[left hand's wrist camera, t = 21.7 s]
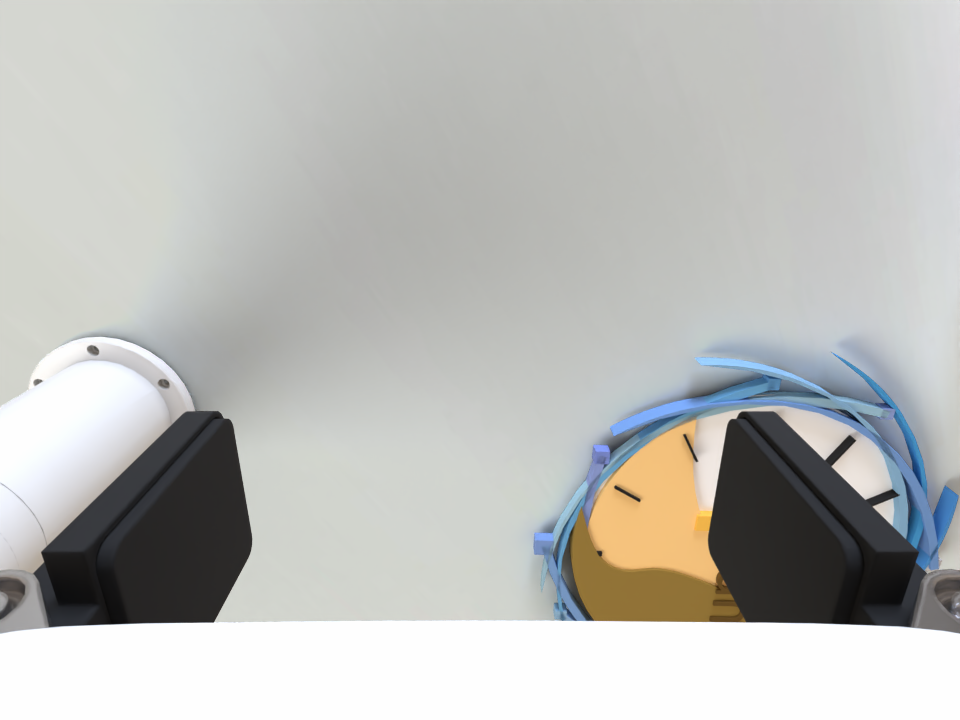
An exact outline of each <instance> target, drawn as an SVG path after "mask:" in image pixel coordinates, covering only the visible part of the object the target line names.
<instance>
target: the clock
mask: <svg viewBox="0 0 960 720" xmlns="http://www.w3.org/2000/svg"><path fill="white" fill-rule="evenodd" d="M831 353H832V352H831ZM833 354H834V353H833ZM834 355H835V356H836V357H838V358H839V359H840V360H841V361H843V362H844V363H845V364H846V365H848V366H849V367H850V368H851V369H853V370H854V371H855V372H856V373H858V374H859V375H860V376H861V377H863V378H864V380H865V381H866V382H867V383H868V384H869V385H870V386H871V387H872V389H873V390H874V391H875V392H876V393H877V394H878V395H879V397H880V398H881V399H882V400H883V401H884V402H885V403H875V404H874V403H870V402H866V401H862V400H858V399H853V398H849V397H842V396H835V395H832V394H830V393H829V392H827V391H826V390H824V389H823V388H821V387H819V386H818V385H815V384H813V383H811V382H809V381H807V380H805V379H802V378H800V377H798V376H796V375H794V374H792V373H789V372H786V371H783V370H781V369H777V368H774V367H771V366H767V365H763V364H759V363H754V362H749V361H743V360H736V359H727V358H706V357H701V358H695V359H696V360H697V361H698V362H699V363H700V364H701V365H705V366H713V367H722V368H730V369H739V370H747V371H753V372H757V373H761V374H763V377H762V378H758V379H755V380H752V381H748V382H745V383H742V384H739V385H735V386H732V387H729V388H726V389H724V390H721V391H719V392H716V393H714V394H711V395H709V396H701V397H695V398H690V399H685V400H680V401H676V402H672V403H668V404H665V405H661V406H658V407H655V408H652V409H649V410H646V411H644V412H641V413H638V414H636V415H634V416H631V417H629V418H627V419H625V420H622V421H620V422H618V423H616V424H614V425H612V426H610V428H611V431H612V433H613V435H614V436H615V435H618V434H621V433H624V432H626V431H629V430H632V429H634V428H637V427H640V426H643V425H645V424H648V423H651V422H654V421H656V420H658V421H656V422H655V423H653V424H651V425H650V426H648V427H647V428H645V429H644V430H642V431H640V432H639V433H637V434H636V435H635V436H633V437H632V438H631V439H629V440H628V441H627V442H625V443H624V444H623V445H621V446H620V447H619V448H617V449H616V450H614V451H613V452H612V453H611V454H610V450H609V447H608V445H593V454H592V459H593V461H592V464H591V467H590V469H589V472H588V475H587V478H586V480H585V481H584V483H583V484H582V485H581V486H580V487H579V489H578V490H577V491H576V493H575V494H574V496H573V497H572V499H571V500H570V502H569V503H568V505H567V506H566V508H565V510H564V511H563V513H562V514H561V516H560V518H559V520H558V522H557V524H556V526H555V528H554V530H553V533H535V534H534V554H535V555H544V556H545V557H544V561H543V566H542V573H541V592H542V590H543V586H544V581H545V577H546V573H547V569H549V572H550V574H551V576H552V579H553V581H554V583H555V585H556V587H557V597H558V603H554V617H555V619H561V620H562V621H592V620H591V619H590V618H589V617H588V616H587V615H586V614H585V612H584V611H583V609H582V608H581V607H580V605H579V604H578V602H577V601H576V599H575V598H574V597H573V595H572V594H571V592H570V590H569V588H568V586H567V584H566V582H565V580H564V578H563V576H562V574H561V566H562V557H563V554H564V551H565V548H566V544H567V541H568V538H569V535H570V557H571V563H572V569H573V574H574V579H575V583H576V586H577V589H578V592H579V595H580V597H581V599H582V601H583V603H584V605H585V607H586V609H587V611H588V613H589V614H590V615H591V617H592V618H593V620H594V621H625V622H736V623H746V621H745V619H744V617H743V616H742V614H741V612H740V610H739V608H738V606H737V604H736V602H735V601H734V599H733V597H732V595H731V593H730V591H729V589H728V587H727V586H726V584H725V582H724V580H723V578H722V576H721V574H720V572H719V571H718V569H717V567H716V565H715V563H714V561H713V559H712V557H711V555H710V552H709V547H708V533H709V528H710V522H711V516H712V510H713V504H714V498H715V492H716V487H717V481H718V475H719V469H720V463H721V457H722V452H723V446H724V440H725V434H726V428H727V424H728V422H729V420H731V419H736V418H737V416H738V414H739V413H740V412H742V411H774V412H775V413H777V414H778V415H779V416H780V417H781V418H782V419H783V420H784V421H785V422H786V423H787V424H788V425H789V426H790V427H791V428H792V429H793V430H794V431H795V432H796V433H797V434H798V435H799V436H800V437H802V438H803V439H804V440H805V441H806V442H807V443H808V444H809V445H810V446H811V447H812V448H813V449H814V450H815V451H816V452H817V453H818V454H819V455H820V456H821V457H822V458H823V459H824V460H825V461H826V462H827V463H828V464H829V465H830V466H831V467H832V468H833V469H834V470H835V471H836V472H837V473H838V474H840V475H841V476H842V477H843V478H844V479H845V480H846V481H847V482H848V483H849V484H850V485H851V486H852V487H853V488H854V489H855V490H856V491H857V492H858V493H859V494H860V495H861V496H862V497H863V498H864V499H865V500H866V501H867V502H868V503H869V504H870V505H871V506H872V507H873V508H874V509H875V510H876V511H878V512H879V513H880V514H881V515H882V516H883V517H884V518H885V519H886V520H887V521H888V522H889V523H890V524H891V525H892V526H893V527H894V528H895V529H896V530H897V531H898V532H899V533H900V534H901V535H902V536H903V537H904V538H905V539H906V540H907V541H908V542H909V543H910V544H911V545H912V546H913V547H914V548H916V549H917V550H918V551H919V554H918V557H917V560H916V563H917V564H918V565H919V566H920V567H921V568H922V569H923V570H924V571H935V570H938V569H939V567H940V564H941V562H942V560H941V559H940V558H939V557H938V549H939V547H940V545H941V543H942V541H943V539H944V537H945V535H946V533H947V530H948V528H949V525H950V523H951V520H952V517H953V515H954V511H955V508H956V504H957V501H958V495H957V494H956V493H954V492H953V491H952V490H950V489H949V488H948V487H947V486H945V487H944V489H943V492H942V494H941V497H940V499H939V502H938V504H937V507H936V509H935V512H934V515H933V516H932V513H931V510H930V507H929V504H928V501H927V482H926V476H925V470H924V464H923V460H922V457H921V454H920V451H919V448H918V445H917V442H916V440H915V437H914V435H913V433H912V431H911V430H910V428H909V426H908V424H907V422H906V420H905V419H904V417H903V415H902V413H901V412H900V410H899V409H898V407H897V406H896V405H895V403H894V402H893V401H892V400H891V398H890V397H889V396H888V395H887V394H886V393H885V392H884V390H883V389H882V388H881V387H880V386H879V385H877V384H876V383H875V382H874V381H873V380H872V379H871V378H870V377H868V376H867V375H866V374H865V373H863V372H862V371H861V370H859V369H858V368H856V367H855V366H853V365H852V364H850V363H849V362H847V361H846V360H844V359H843V358H841V357H839V356H838V355H836V354H834ZM781 379H784V380H788V381H792V382H794V383H797V384H799V385H801V386H803V387H806V388H808V389H810V390H813V391H815V392H817V393H810V392H782V391H781V392H766V393H762V392H765V391H769V390H779V388H780V384H781ZM837 409H843V410H847V411H848V412H849V413H850V414H851V415H852V416H853V417H854V418H852V417H851V416H849V415H848V414H845V413H843V412H841V411H838V410H837ZM857 412H859V413H864V414H868V415H873V416H877V417H878V418H879V419H893V417H894V418H895V420H896V421H897V423H898V425H899V427H900V428H901V430H902V432H903V434H904V437H905V440H906V443H907V447H908V450H909V453H910V456H911V459H912V467H913V471H912V470H911V469H910V467H909V466H908V465H907V463H906V462H905V461H904V460H903V458H902V457H901V456H900V455H899V453H898V452H896V451H895V450H894V449H893V448H892V447H891V446H890V445H889V444H888V443H886V442H885V441H884V440H883V439H882V438H881V436H880V435H879V434H878V433H877V431H876V430H875V429H874V428H873V427H872V425H870V424H869V423H868V422H867V421H866V420H865V419H863V418H862V417H861V416H860V415H859V414H858V413H857ZM906 494H907V495H906ZM907 497H908V499H909V501H910V505H911V515H910V519H909V522H908V503H907ZM562 529H563V530H562ZM561 532H562V533H561ZM560 534H561V537H560V542H559V547H558V551H557V559H556V561H555V558H554V555H553V551H554V548H555V546H556V543H557V541H558V539H559V536H560ZM561 597H562V599H563V601H564V602H565V603H562V600H561ZM566 605H567V607H568V609H569V610H570V611H569V610H568V609H567V608H566Z"/></svg>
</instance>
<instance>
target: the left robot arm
mask: <svg viewBox="0 0 960 720" xmlns="http://www.w3.org/2000/svg"><path fill="white" fill-rule="evenodd" d="M251 547H252V533H251V528H250V522H249V516H248V510H247V504H246V498H245V493H244V487H243V481H242V475H241V469H240V463H239V458H238V452H237V446H236V440H235V434H234V428H233V424H232V422H231V420H229V419H224V418H223V416H222V414H221V413H220V412H218V411H195V408H194V405H193V402H192V398H191V396H190V394H189V392H188V390H187V388H186V387H185V385H184V383H183V382H182V381H181V379H180V378H179V377H178V375H177V374H176V373H175V372H174V371H173V370H172V369H171V368H170V367H169V366H168V365H167V364H166V363H165V362H164V361H163V360H161V359H160V358H158V357H157V356H155V355H154V354H153V353H151V352H150V351H148V350H146V349H144V348H142V347H140V346H137V345H135V344H133V343H130V342H126V341H123V340H120V339H115V338H107V337H86V338H82V339H78V340H74V341H71V342H69V343H66V344H64V345H62V346H60V347H58V348H56V349H55V350H53V351H52V352H50V353H49V354H47V355H46V356H45V357H44V358H43V359H42V360H41V361H40V362H39V363H38V364H37V366H36V368H35V370H34V371H33V373H32V375H31V378H30V382H29V386H28V391H26V392H24V393H23V394H21V395H19V396H17V397H16V398H14V399H12V400H11V401H9V402H7V403H6V404H4V405H2V406H0V720H960V570H953V569H947V570H935V571H933V572H931V573H928V574H927V573H926V572H925V571H924V570H923V569H922V568H921V567H920V566H919V565H918V564H917V563H916V560H917V557H918V554H919V551H918V550H917V549H916V548H914V547H913V546H912V545H911V544H910V543H909V542H908V541H907V540H906V539H905V538H904V537H903V536H902V535H901V534H900V533H899V532H898V531H897V530H896V529H895V528H894V527H893V526H892V525H891V524H890V523H889V522H888V521H887V520H886V519H885V518H884V517H883V516H882V515H881V514H880V513H879V512H878V511H876V510H875V509H874V508H873V507H872V506H871V505H870V504H869V503H868V502H867V501H866V500H865V499H864V498H863V497H862V496H861V495H860V494H859V493H858V492H857V491H856V490H855V489H854V488H853V487H852V486H851V485H850V484H849V483H848V482H847V481H846V480H845V479H844V478H843V477H842V476H841V475H840V474H838V473H837V472H836V471H835V470H834V469H833V468H832V467H831V466H830V465H829V464H828V463H827V462H826V461H825V460H824V459H823V458H822V457H821V456H820V455H819V454H818V453H817V452H816V451H815V450H814V449H813V448H812V447H811V446H810V445H809V444H808V443H807V442H806V441H805V440H804V439H803V438H802V437H800V436H799V435H798V434H797V433H796V432H795V431H794V430H793V429H792V428H791V427H790V426H789V425H788V424H787V423H786V422H785V421H784V420H783V419H782V418H781V417H780V416H779V415H778V414H777V413H775V412H774V411H742V412H740V413H739V414H738V416H737V418H736V419H731V420H729V422H728V424H727V428H726V434H725V440H724V446H723V452H722V457H721V463H720V469H719V475H718V481H717V487H716V492H715V498H714V504H713V510H712V516H711V522H710V528H709V533H708V547H709V552H710V555H711V557H712V559H713V561H714V563H715V565H716V567H717V569H718V571H719V572H720V574H721V576H722V578H723V580H724V582H725V584H726V586H727V587H728V589H729V591H730V593H731V595H732V597H733V599H734V601H735V602H736V604H737V606H738V608H739V610H740V612H741V614H742V616H743V617H744V619H745V621H746V623H736V622H625V621H321V622H234V623H214V621H215V619H216V617H217V616H218V614H219V612H220V610H221V608H222V606H223V604H224V602H225V601H226V599H227V597H228V595H229V593H230V591H231V589H232V587H233V586H234V584H235V582H236V580H237V578H238V576H239V574H240V572H241V571H242V569H243V567H244V565H245V563H246V561H247V559H248V557H249V555H250V552H251Z"/></svg>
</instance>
